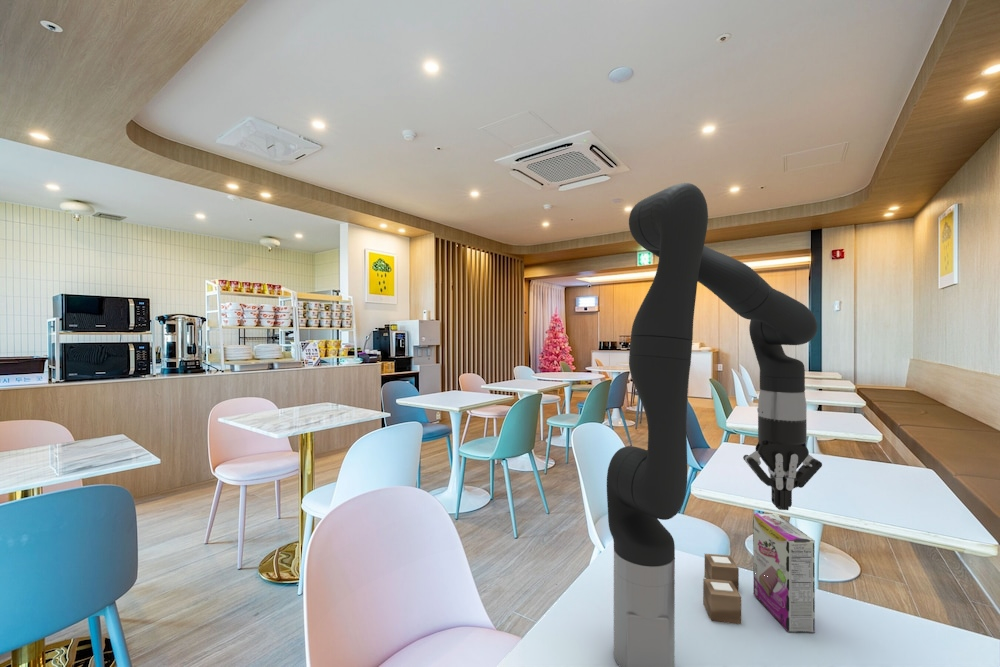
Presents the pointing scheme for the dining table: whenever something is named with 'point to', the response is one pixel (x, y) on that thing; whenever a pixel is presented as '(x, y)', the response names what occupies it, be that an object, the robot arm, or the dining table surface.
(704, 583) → the marked block near
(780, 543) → the candy bar box
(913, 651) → the dining table surface
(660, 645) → the robot arm
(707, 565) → the marked block far
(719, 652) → the dining table surface
